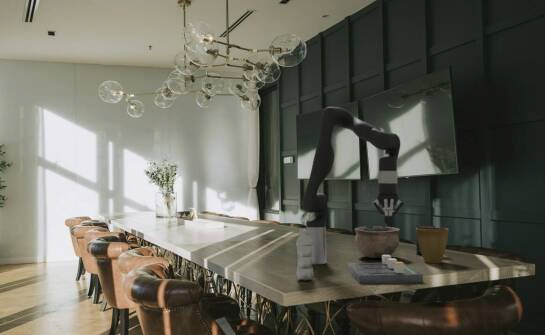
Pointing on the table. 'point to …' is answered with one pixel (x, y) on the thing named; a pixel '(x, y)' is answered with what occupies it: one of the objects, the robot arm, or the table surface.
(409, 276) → the breaker panel
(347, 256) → the table surface
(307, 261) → the plastic bottle
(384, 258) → the breaker back
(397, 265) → the block
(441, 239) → the plant pot
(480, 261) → the table surface
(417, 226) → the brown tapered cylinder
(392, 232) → the ceramic bowl
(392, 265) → the block
